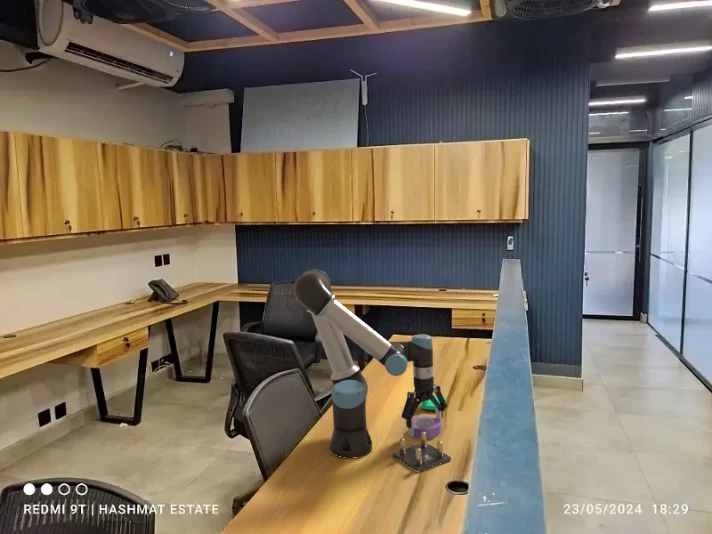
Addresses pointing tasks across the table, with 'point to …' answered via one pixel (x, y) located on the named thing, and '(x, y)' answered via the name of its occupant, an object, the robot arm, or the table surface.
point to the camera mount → (430, 404)
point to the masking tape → (427, 426)
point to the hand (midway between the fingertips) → (425, 431)
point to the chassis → (421, 454)
